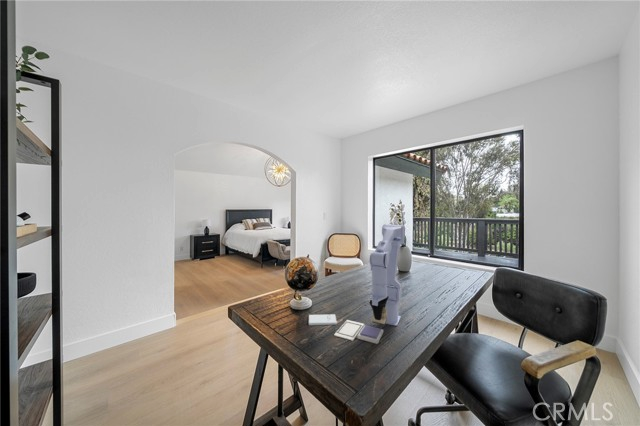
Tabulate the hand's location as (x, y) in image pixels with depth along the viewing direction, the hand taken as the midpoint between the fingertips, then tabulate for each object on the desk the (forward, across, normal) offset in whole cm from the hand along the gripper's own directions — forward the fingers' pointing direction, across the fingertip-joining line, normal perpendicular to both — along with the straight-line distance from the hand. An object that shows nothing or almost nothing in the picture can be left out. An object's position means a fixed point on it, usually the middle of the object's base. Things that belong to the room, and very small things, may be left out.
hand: (379, 316), depth 93 cm
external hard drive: (+9, -2, -26) cm, 28 cm away
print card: (+8, 0, -12) cm, 15 cm away
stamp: (+2, 0, 0) cm, 2 cm away
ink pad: (+8, 0, -4) cm, 9 cm away
